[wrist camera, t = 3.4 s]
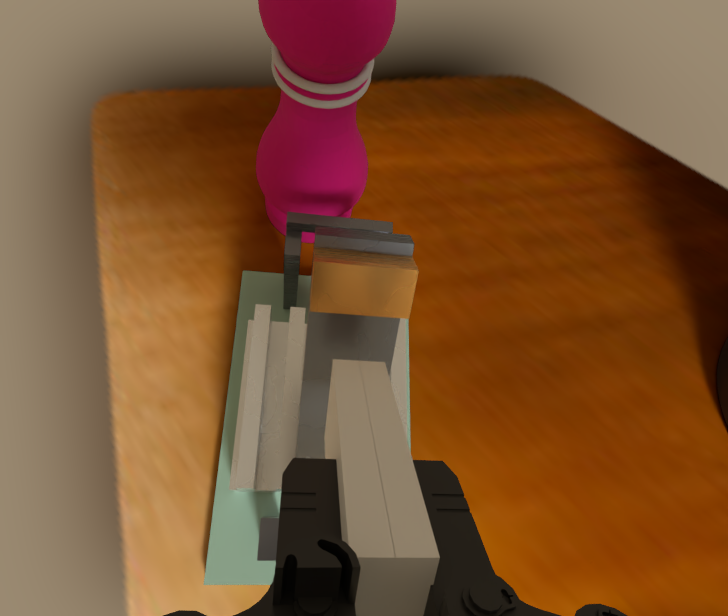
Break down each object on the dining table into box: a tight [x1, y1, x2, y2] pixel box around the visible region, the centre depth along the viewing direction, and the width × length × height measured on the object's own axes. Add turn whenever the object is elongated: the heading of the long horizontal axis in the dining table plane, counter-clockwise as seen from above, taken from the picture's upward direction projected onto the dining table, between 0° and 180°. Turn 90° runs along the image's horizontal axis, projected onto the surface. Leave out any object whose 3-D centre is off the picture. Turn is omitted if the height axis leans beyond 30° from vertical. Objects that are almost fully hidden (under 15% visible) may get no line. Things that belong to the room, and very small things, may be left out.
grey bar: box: [295, 226, 419, 459], centre depth 18 cm, size 15×3×2 cm
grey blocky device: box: [229, 212, 407, 561], centre depth 26 cm, size 16×9×8 cm, turn 179°
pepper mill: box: [256, 0, 396, 243], centre depth 27 cm, size 7×7×20 cm
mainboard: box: [204, 270, 411, 585], centre depth 30 cm, size 18×11×1 cm, turn 179°
